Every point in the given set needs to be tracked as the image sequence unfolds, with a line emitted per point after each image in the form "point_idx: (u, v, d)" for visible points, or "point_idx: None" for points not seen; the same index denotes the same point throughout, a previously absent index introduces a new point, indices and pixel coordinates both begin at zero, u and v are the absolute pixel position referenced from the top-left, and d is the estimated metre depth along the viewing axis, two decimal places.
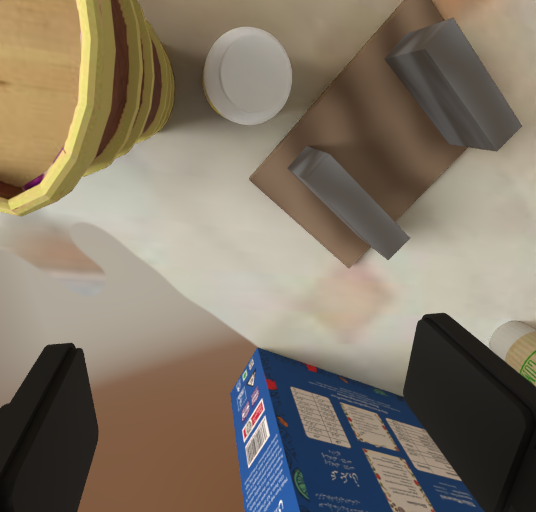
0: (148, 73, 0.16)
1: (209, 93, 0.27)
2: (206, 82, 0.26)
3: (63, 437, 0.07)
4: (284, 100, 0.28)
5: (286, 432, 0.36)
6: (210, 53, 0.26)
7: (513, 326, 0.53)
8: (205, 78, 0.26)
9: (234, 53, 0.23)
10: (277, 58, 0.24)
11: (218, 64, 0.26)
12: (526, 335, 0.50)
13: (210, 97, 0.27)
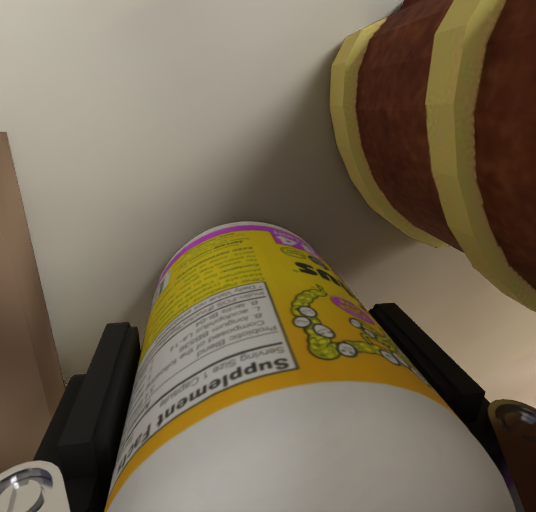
0: None
1: (451, 453, 0.05)
2: (485, 468, 0.05)
3: None
4: None
5: None
6: None
7: None
8: (491, 468, 0.05)
9: None
10: None
11: None
12: None
13: (431, 438, 0.05)
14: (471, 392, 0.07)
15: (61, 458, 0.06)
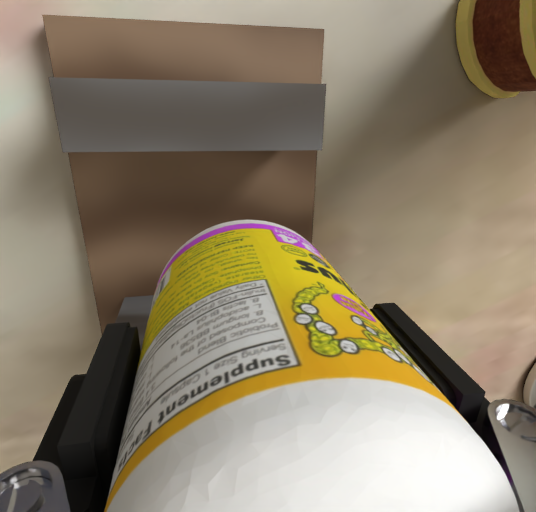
0: None
1: (454, 450, 0.05)
2: (488, 465, 0.05)
3: (129, 403, 0.08)
4: None
5: None
6: None
7: None
8: (494, 465, 0.05)
9: None
10: None
11: None
12: None
13: (434, 434, 0.05)
14: (471, 392, 0.07)
15: (61, 458, 0.06)
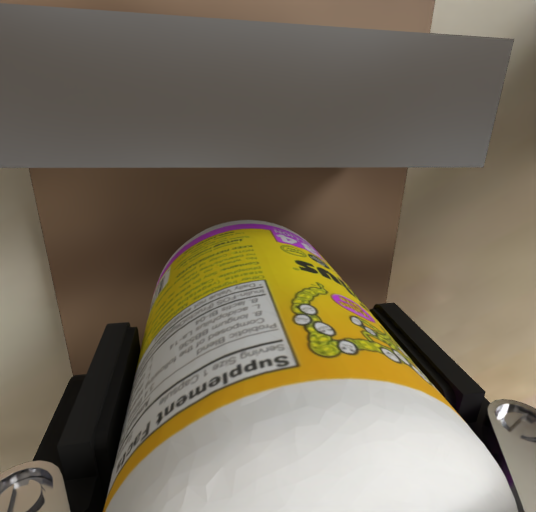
0: None
1: (453, 451, 0.05)
2: (487, 466, 0.05)
3: None
4: None
5: None
6: None
7: None
8: (493, 466, 0.05)
9: None
10: None
11: None
12: None
13: (432, 435, 0.05)
14: (471, 392, 0.07)
15: (61, 458, 0.06)
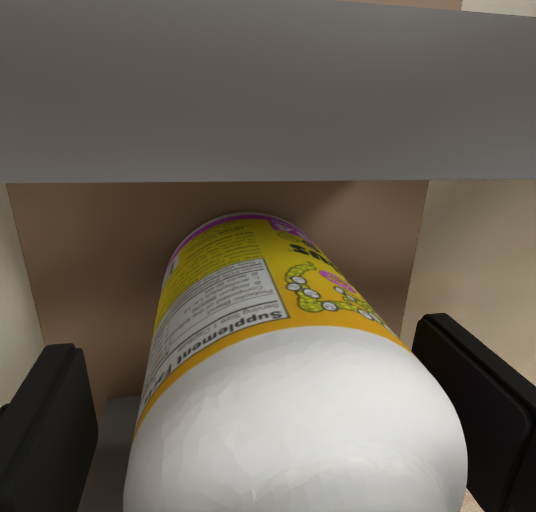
0: None
1: (406, 376, 0.06)
2: (435, 392, 0.06)
3: (63, 437, 0.07)
4: None
5: None
6: None
7: None
8: (441, 394, 0.06)
9: None
10: None
11: (448, 487, 0.06)
12: None
13: (391, 365, 0.06)
14: None
15: None
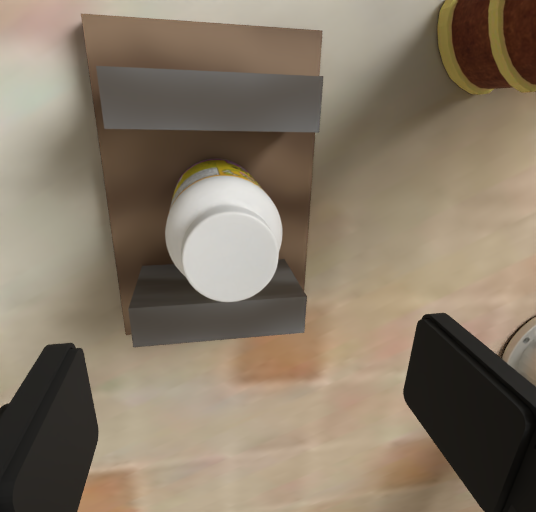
0: None
1: (252, 187, 0.19)
2: (263, 195, 0.20)
3: (63, 437, 0.07)
4: (172, 253, 0.20)
5: None
6: (280, 223, 0.21)
7: None
8: (267, 197, 0.20)
9: (268, 256, 0.18)
10: (223, 291, 0.18)
11: (266, 223, 0.20)
12: None
13: (248, 184, 0.20)
14: None
15: None
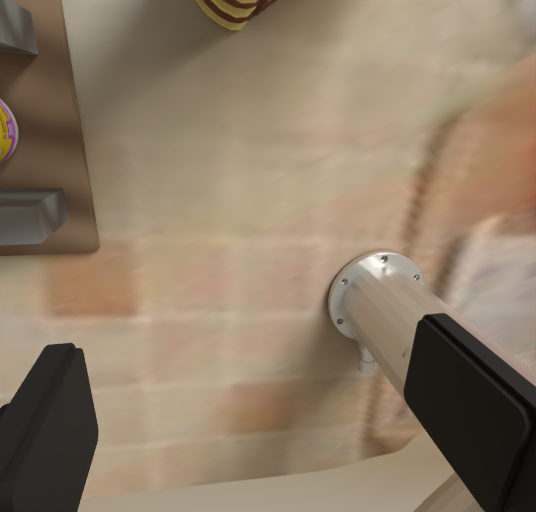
0: None
1: None
2: None
3: (63, 437, 0.07)
4: None
5: None
6: None
7: None
8: None
9: None
10: None
11: None
12: None
13: None
14: None
15: None
